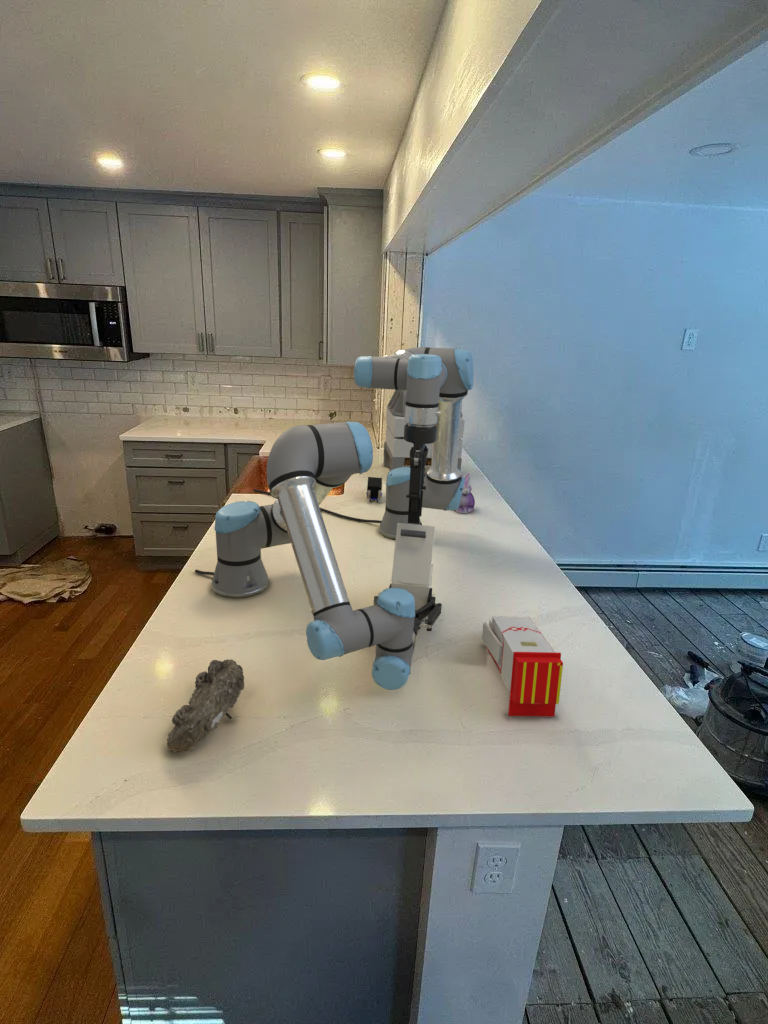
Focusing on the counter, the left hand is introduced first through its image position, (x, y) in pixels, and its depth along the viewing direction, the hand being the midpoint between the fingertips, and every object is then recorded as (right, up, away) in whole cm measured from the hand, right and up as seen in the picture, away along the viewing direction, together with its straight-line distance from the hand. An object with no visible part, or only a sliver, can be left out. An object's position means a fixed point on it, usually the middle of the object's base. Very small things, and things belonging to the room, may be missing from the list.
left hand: (410, 590), depth 147 cm
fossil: (-40, -19, -39) cm, 59 cm away
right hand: (+1, +19, -9) cm, 21 cm away
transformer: (+10, +39, +128) cm, 134 cm away
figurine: (+25, +21, +79) cm, 86 cm away
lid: (0, +10, -4) cm, 10 cm away
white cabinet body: (0, -5, +5) cm, 7 cm away
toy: (+22, -16, -23) cm, 35 cm away
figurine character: (-11, +26, +88) cm, 92 cm away
